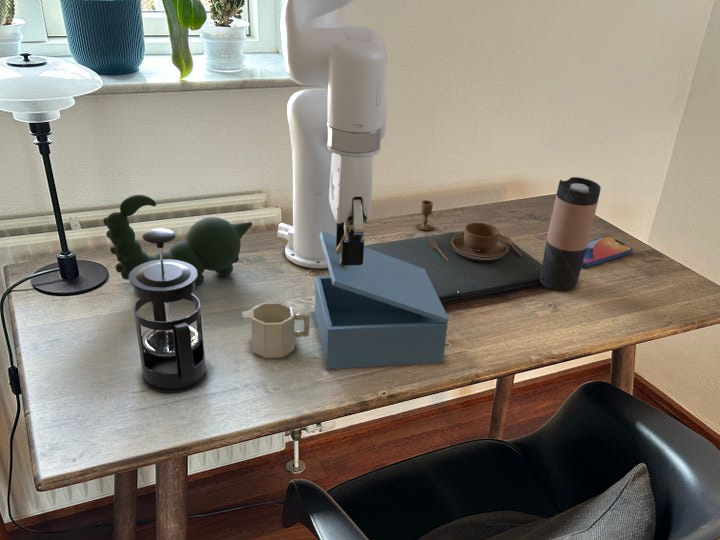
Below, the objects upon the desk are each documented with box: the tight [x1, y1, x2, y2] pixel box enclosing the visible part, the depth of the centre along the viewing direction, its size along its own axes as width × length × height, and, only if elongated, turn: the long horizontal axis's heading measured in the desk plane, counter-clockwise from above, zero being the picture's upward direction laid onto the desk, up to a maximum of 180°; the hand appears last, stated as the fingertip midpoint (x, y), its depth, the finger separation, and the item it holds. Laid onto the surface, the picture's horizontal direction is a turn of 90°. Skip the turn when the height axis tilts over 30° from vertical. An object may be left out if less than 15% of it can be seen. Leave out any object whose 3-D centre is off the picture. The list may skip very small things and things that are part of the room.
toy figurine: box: [102, 194, 253, 287], centre depth 128 cm, size 9×19×25 cm
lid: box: [319, 225, 450, 324], centre depth 115 cm, size 19×17×6 cm
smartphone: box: [582, 235, 633, 268], centre depth 155 cm, size 7×15×1 cm, turn 124°
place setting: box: [417, 199, 524, 264], centre depth 154 cm, size 18×20×6 cm
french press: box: [128, 228, 208, 394], centre depth 103 cm, size 12×9×23 cm
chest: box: [314, 275, 449, 370], centre depth 121 cm, size 19×17×7 cm
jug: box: [242, 301, 310, 359], centre depth 117 cm, size 10×7×6 cm, turn 102°
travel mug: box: [539, 176, 602, 292], centre depth 138 cm, size 8×8×20 cm
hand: (349, 254), depth 113 cm, fingers closed on lid, 5 cm apart
